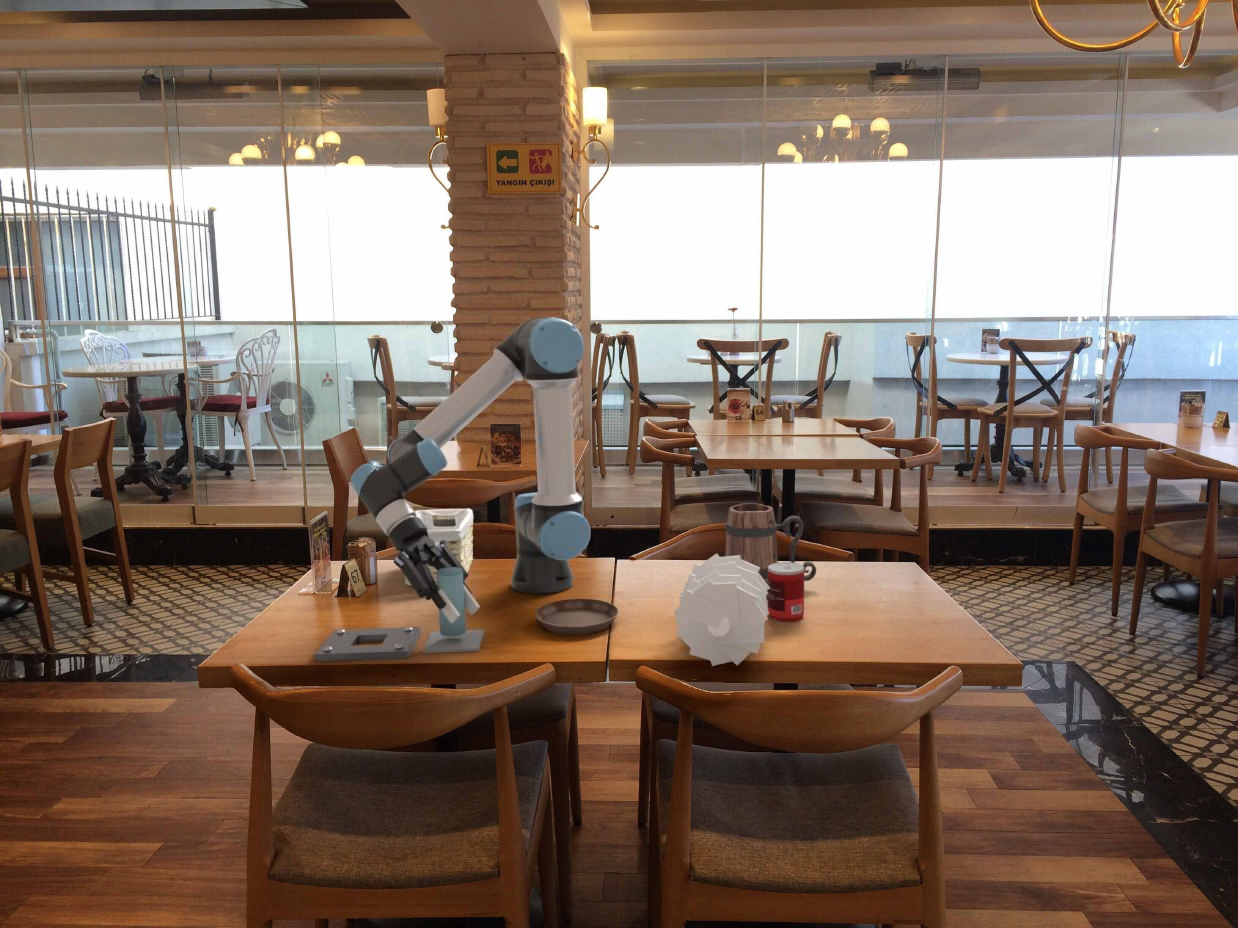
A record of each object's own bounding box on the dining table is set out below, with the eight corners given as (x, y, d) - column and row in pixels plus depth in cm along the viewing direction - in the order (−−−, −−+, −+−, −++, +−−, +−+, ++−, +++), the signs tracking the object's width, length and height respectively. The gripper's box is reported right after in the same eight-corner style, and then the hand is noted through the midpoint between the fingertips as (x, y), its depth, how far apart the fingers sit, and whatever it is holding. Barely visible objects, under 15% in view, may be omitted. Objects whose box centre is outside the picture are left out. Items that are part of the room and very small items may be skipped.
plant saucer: (624, 635, 195) (624, 621, 194) (539, 642, 192) (539, 627, 191) (611, 608, 212) (611, 595, 211) (533, 614, 209) (532, 601, 209)
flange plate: (420, 633, 198) (419, 624, 198) (407, 658, 184) (407, 648, 184) (334, 636, 198) (333, 627, 197) (315, 661, 184) (314, 651, 184)
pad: (484, 632, 198) (484, 629, 198) (478, 651, 187) (478, 648, 187) (432, 633, 198) (431, 631, 198) (422, 653, 187) (422, 650, 187)
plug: (467, 627, 195) (464, 566, 192) (464, 635, 190) (460, 573, 187) (442, 628, 195) (438, 567, 192) (438, 636, 189) (434, 574, 187)
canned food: (806, 611, 205) (806, 562, 204) (801, 623, 198) (801, 573, 196) (771, 608, 208) (771, 560, 206) (764, 620, 200) (764, 570, 199)
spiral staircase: (746, 647, 196) (743, 689, 172) (670, 609, 198) (656, 646, 173) (785, 570, 193) (787, 602, 169) (707, 533, 195) (698, 559, 170)
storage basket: (464, 586, 231) (460, 528, 229) (398, 588, 231) (394, 530, 228) (477, 560, 255) (474, 507, 252) (417, 562, 255) (414, 509, 252)
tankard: (717, 601, 214) (716, 516, 211) (713, 580, 231) (712, 500, 227) (821, 600, 213) (822, 514, 209) (810, 579, 229) (810, 498, 226)
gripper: (425, 528, 205) (486, 612, 199) (360, 547, 190) (424, 639, 184) (442, 507, 201) (504, 592, 195) (377, 524, 186) (442, 617, 180)
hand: (465, 614), depth 189 cm, fingers closed on plug, 5 cm apart
